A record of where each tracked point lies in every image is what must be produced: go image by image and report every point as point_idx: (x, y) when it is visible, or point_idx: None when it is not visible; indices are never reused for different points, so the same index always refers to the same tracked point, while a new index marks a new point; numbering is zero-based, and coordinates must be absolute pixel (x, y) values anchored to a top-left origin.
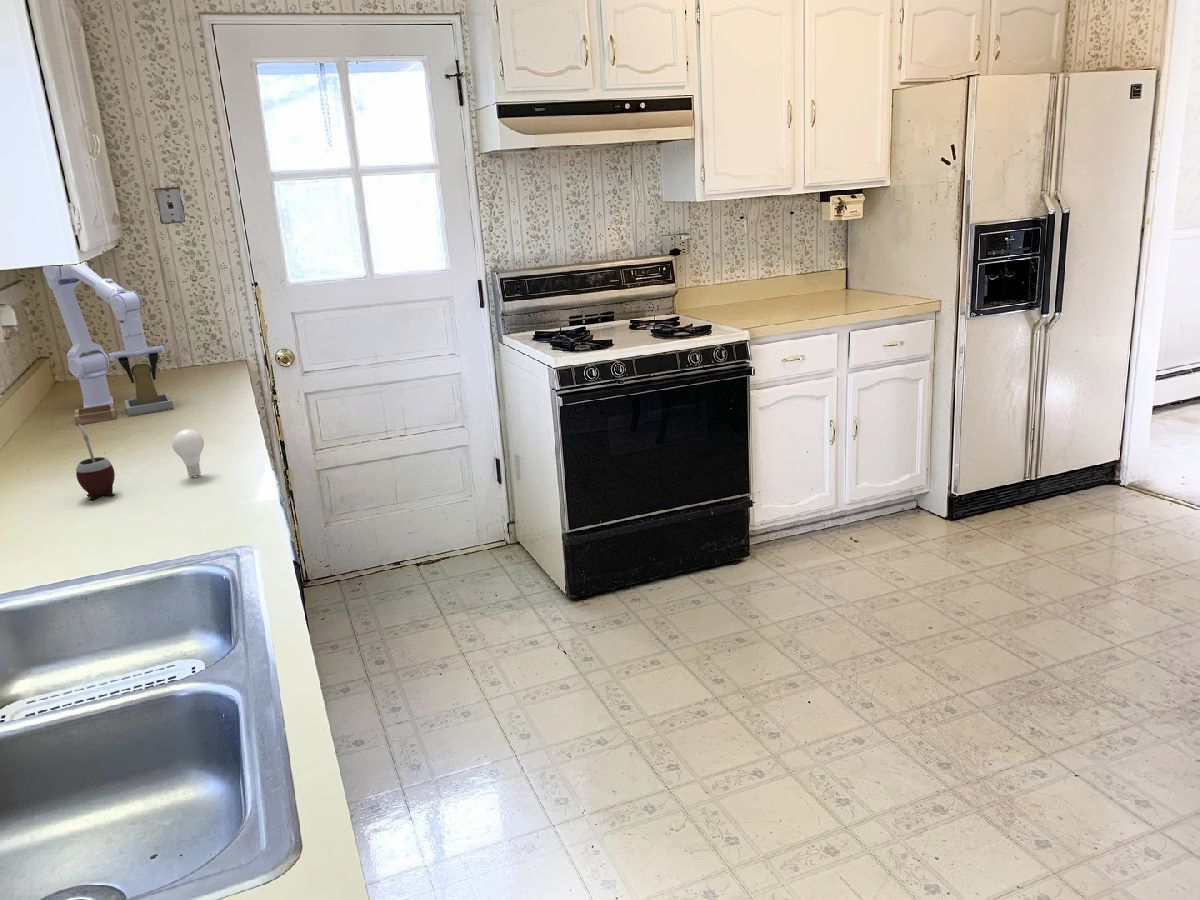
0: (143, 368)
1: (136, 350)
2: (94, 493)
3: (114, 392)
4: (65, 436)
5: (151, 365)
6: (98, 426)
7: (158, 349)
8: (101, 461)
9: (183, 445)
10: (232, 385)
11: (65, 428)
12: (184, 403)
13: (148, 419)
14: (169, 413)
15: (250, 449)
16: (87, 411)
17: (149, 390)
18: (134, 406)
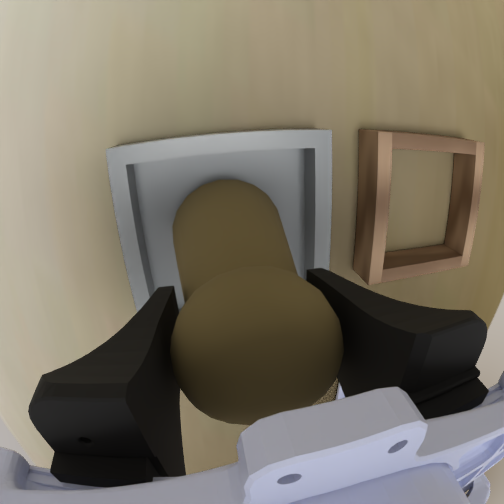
0: (234, 300)
1: (355, 501)
2: None
3: None
4: (475, 23)
5: (147, 343)
6: (412, 58)
7: (17, 494)
8: None
9: None
10: (4, 395)
11: (483, 128)
12: (82, 242)
13: (231, 14)
14: (136, 70)
15: None
16: (438, 253)
17: (209, 213)
18: (294, 146)
